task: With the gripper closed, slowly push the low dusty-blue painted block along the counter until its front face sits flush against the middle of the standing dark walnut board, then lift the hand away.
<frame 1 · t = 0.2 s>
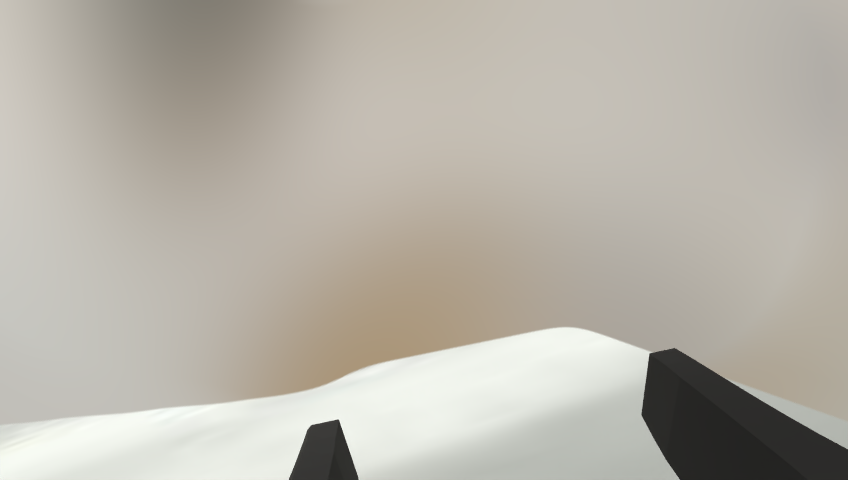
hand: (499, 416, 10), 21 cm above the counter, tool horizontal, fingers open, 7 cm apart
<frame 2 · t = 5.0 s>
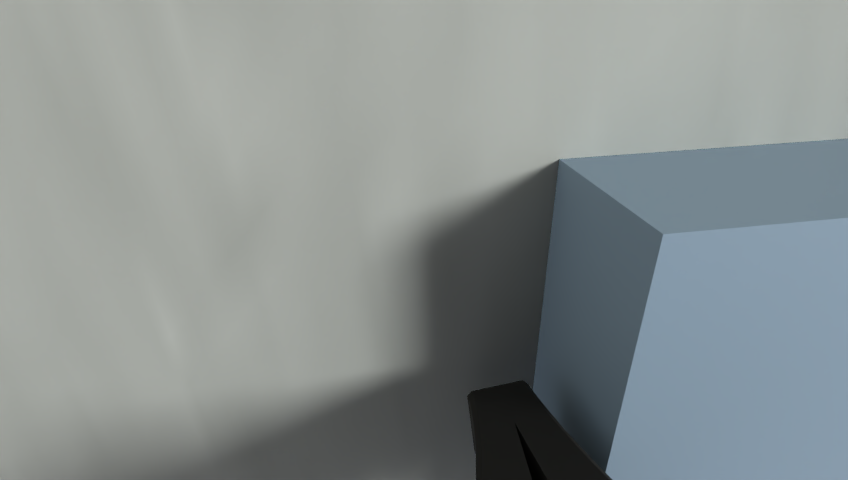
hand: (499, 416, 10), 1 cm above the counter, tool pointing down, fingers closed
block: (671, 320, 12), on the counter, touching gripper
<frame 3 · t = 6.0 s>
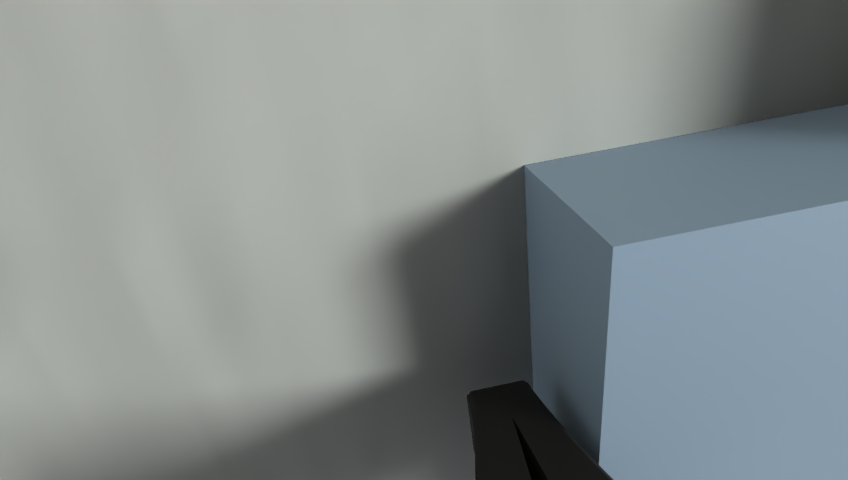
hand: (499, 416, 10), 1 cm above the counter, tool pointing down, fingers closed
block: (669, 309, 12), on the counter, touching gripper
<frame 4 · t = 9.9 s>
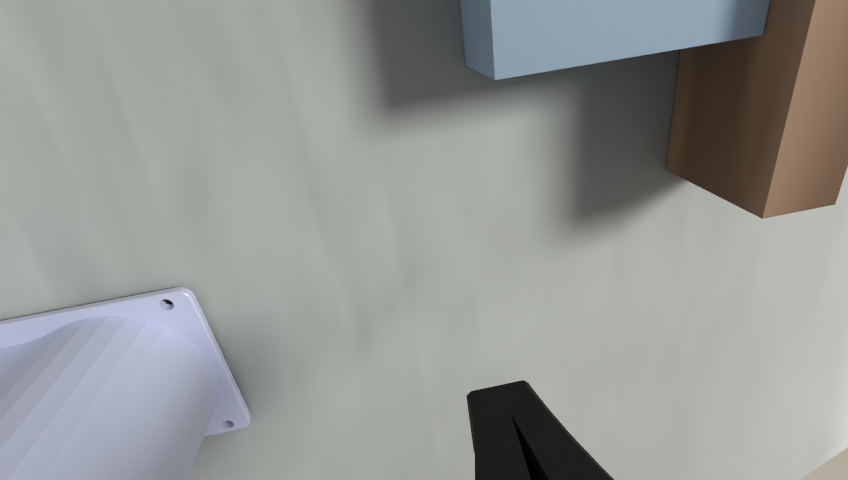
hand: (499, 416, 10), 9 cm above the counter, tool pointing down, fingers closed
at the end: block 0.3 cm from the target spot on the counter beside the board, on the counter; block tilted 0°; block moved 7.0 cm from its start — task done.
